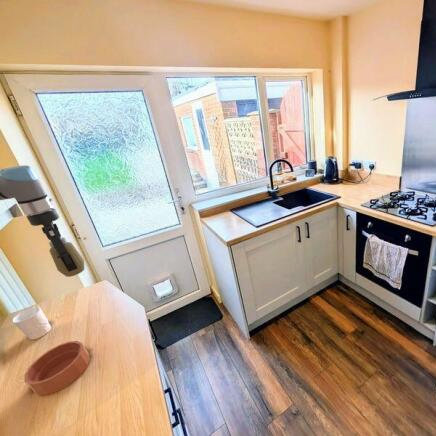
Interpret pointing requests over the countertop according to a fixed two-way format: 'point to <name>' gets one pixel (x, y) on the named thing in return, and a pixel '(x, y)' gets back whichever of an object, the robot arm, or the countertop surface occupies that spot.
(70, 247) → the squeeze bottle
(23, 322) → the white cup
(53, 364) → the bowl
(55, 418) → the countertop surface
